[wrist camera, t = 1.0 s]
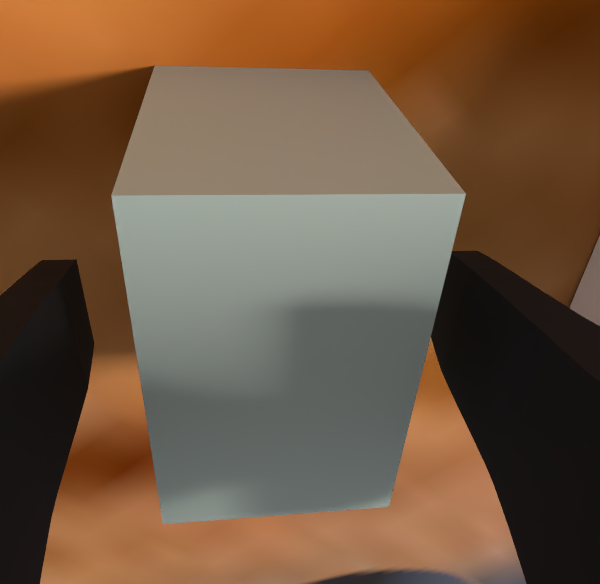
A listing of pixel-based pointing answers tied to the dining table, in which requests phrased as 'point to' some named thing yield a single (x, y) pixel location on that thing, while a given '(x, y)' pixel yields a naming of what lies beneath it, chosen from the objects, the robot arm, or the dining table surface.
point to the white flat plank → (589, 289)
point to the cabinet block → (279, 285)
